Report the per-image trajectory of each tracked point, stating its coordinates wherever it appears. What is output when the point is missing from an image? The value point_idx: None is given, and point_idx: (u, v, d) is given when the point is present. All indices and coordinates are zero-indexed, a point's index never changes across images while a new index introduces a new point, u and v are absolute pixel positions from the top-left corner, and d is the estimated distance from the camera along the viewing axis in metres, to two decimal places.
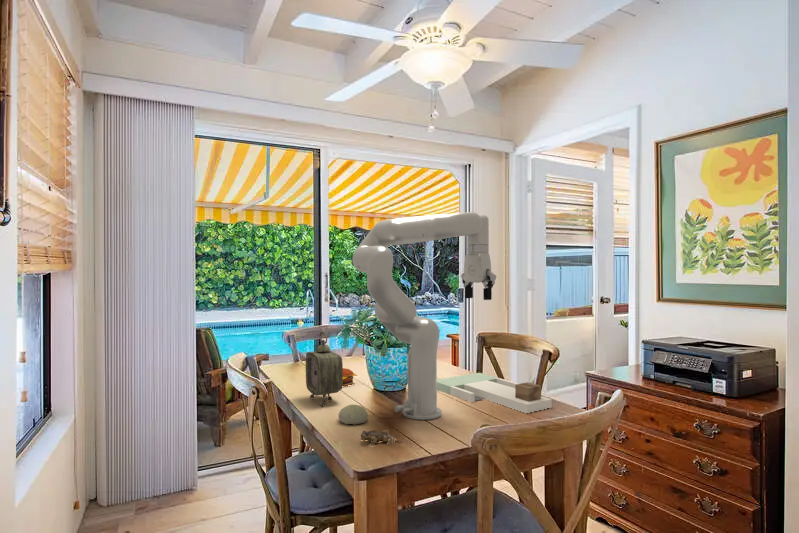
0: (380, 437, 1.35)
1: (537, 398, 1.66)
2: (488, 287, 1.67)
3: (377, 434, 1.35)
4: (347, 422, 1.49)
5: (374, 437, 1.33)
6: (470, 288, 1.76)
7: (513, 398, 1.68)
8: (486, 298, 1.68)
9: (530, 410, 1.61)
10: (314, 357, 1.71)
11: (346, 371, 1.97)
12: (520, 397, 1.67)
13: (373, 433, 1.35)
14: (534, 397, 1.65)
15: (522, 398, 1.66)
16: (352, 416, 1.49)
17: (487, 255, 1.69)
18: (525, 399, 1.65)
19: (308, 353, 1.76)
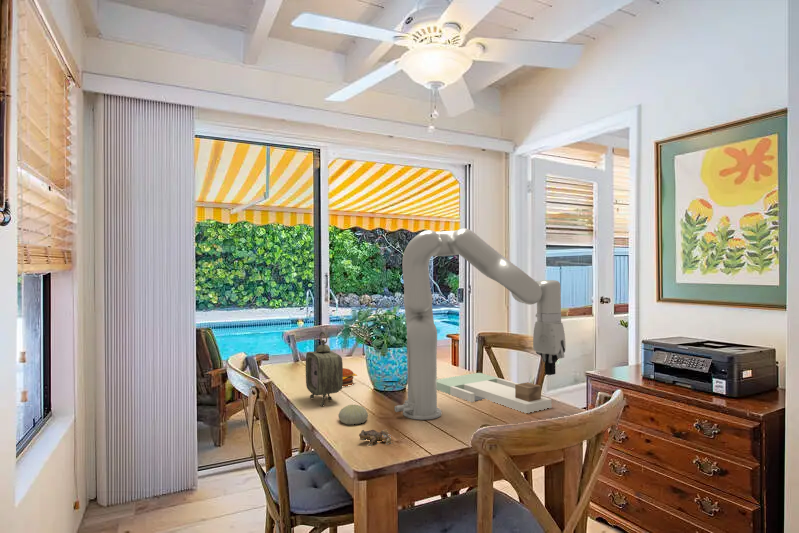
0: (379, 437, 1.35)
1: (537, 398, 1.66)
2: (551, 362, 1.58)
3: (376, 434, 1.35)
4: (347, 422, 1.49)
5: (373, 437, 1.34)
6: None
7: (513, 398, 1.68)
8: (550, 373, 1.59)
9: (530, 410, 1.61)
10: (314, 357, 1.71)
11: (346, 371, 1.97)
12: (520, 397, 1.67)
13: (371, 432, 1.35)
14: (534, 397, 1.65)
15: (522, 398, 1.66)
16: (352, 416, 1.49)
17: (561, 325, 1.56)
18: (525, 399, 1.65)
19: (308, 353, 1.76)
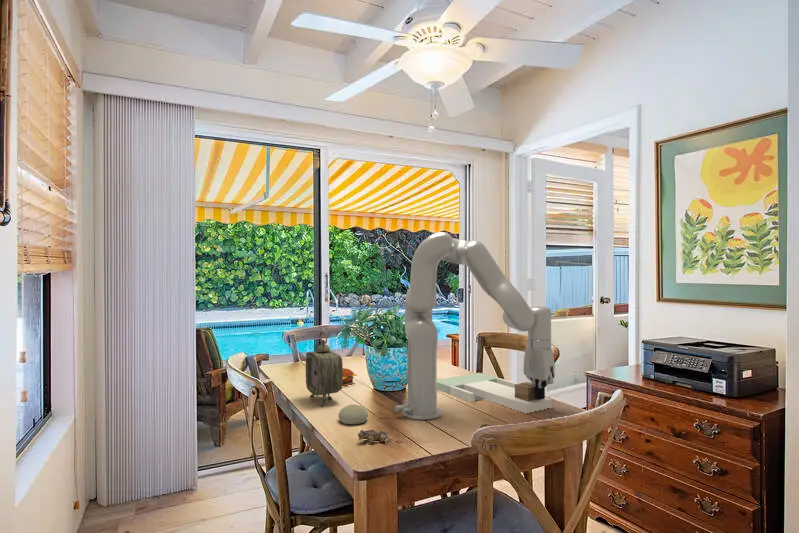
0: (378, 437, 1.35)
1: None
2: (541, 388, 1.62)
3: (374, 434, 1.35)
4: (347, 422, 1.49)
5: (371, 437, 1.34)
6: None
7: (513, 398, 1.68)
8: (539, 398, 1.62)
9: (530, 410, 1.61)
10: (314, 357, 1.71)
11: (346, 371, 1.97)
12: (519, 397, 1.67)
13: (370, 432, 1.35)
14: (533, 397, 1.65)
15: (521, 398, 1.66)
16: (352, 416, 1.49)
17: (550, 351, 1.60)
18: (524, 399, 1.65)
19: (308, 353, 1.76)
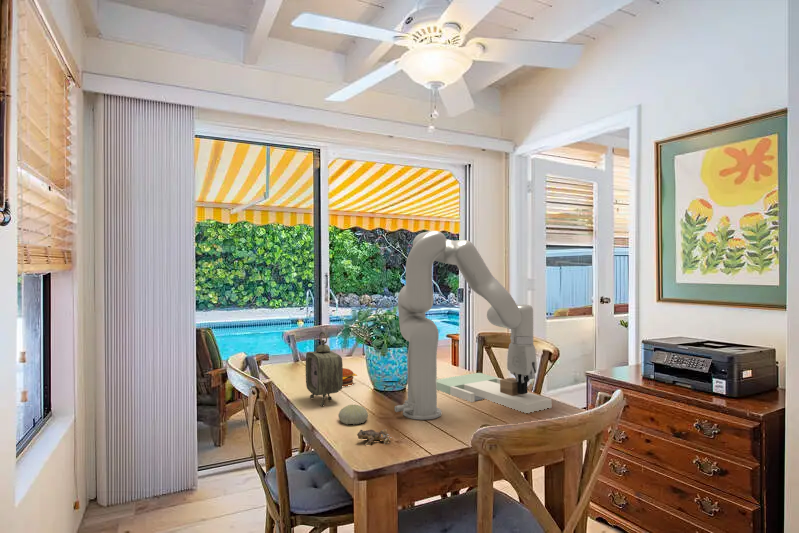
0: (377, 437, 1.36)
1: None
2: None
3: (374, 433, 1.35)
4: (347, 422, 1.49)
5: (371, 436, 1.34)
6: None
7: (513, 398, 1.68)
8: (522, 392, 1.69)
9: (530, 410, 1.61)
10: (314, 357, 1.71)
11: (346, 371, 1.97)
12: (504, 392, 1.74)
13: (369, 432, 1.35)
14: (517, 392, 1.72)
15: (506, 392, 1.73)
16: (352, 416, 1.49)
17: (532, 347, 1.66)
18: (509, 393, 1.72)
19: (308, 353, 1.76)
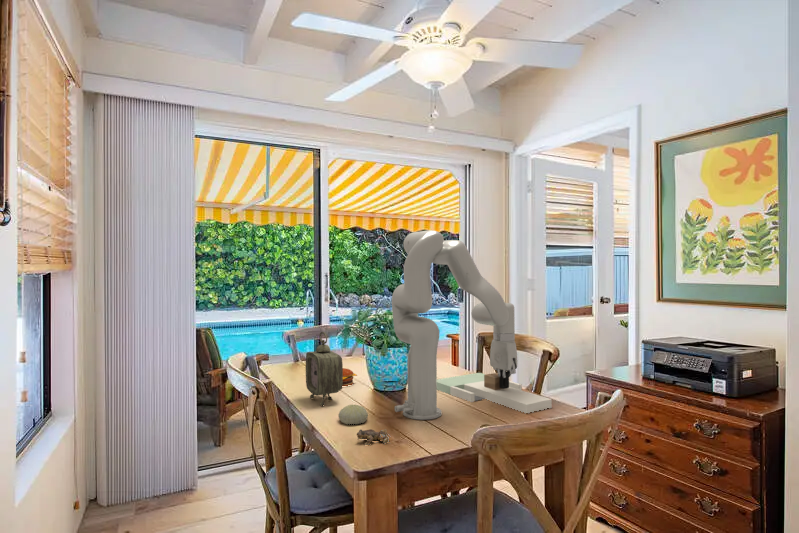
0: (376, 436, 1.36)
1: None
2: (505, 377, 1.76)
3: (373, 433, 1.35)
4: (347, 422, 1.49)
5: (370, 436, 1.34)
6: None
7: (513, 398, 1.68)
8: (504, 387, 1.76)
9: (530, 410, 1.61)
10: (314, 357, 1.71)
11: (346, 371, 1.97)
12: (488, 386, 1.82)
13: (369, 432, 1.35)
14: None
15: (490, 387, 1.81)
16: (352, 416, 1.49)
17: (513, 344, 1.74)
18: (492, 388, 1.79)
19: (308, 353, 1.76)
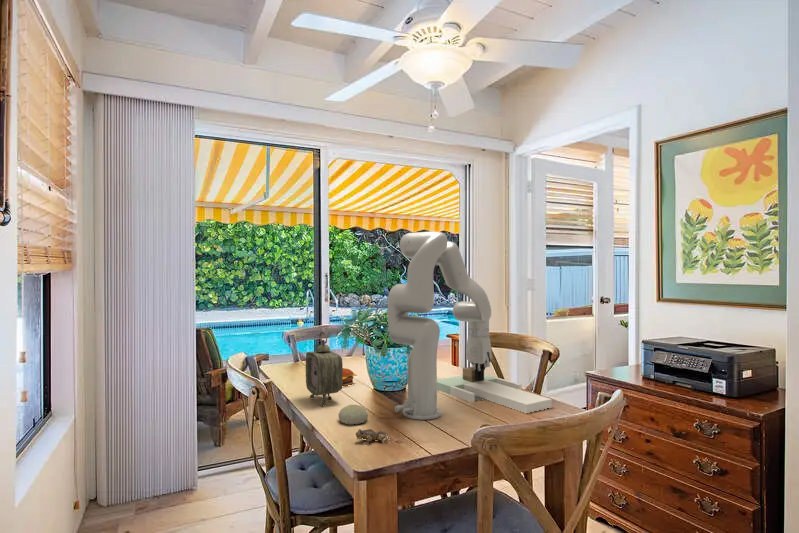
0: (375, 436, 1.36)
1: None
2: (480, 370, 1.87)
3: (372, 433, 1.35)
4: (347, 422, 1.49)
5: (369, 436, 1.34)
6: None
7: (513, 398, 1.68)
8: (479, 379, 1.88)
9: (530, 410, 1.61)
10: (314, 357, 1.71)
11: (346, 371, 1.97)
12: (466, 379, 1.93)
13: (368, 431, 1.35)
14: None
15: (467, 379, 1.92)
16: (352, 416, 1.49)
17: (487, 339, 1.85)
18: (469, 380, 1.91)
19: (308, 353, 1.76)
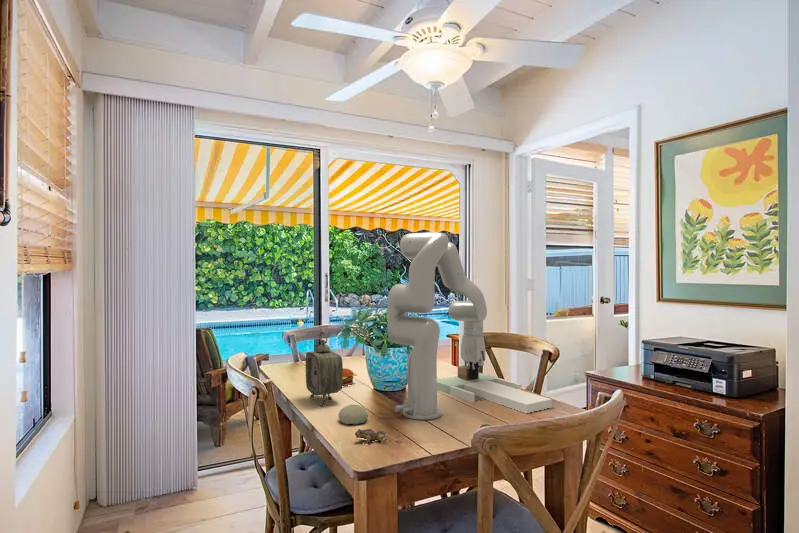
0: (375, 436, 1.36)
1: None
2: (474, 369, 1.90)
3: (372, 433, 1.35)
4: (347, 422, 1.49)
5: (368, 436, 1.34)
6: None
7: (513, 398, 1.68)
8: (473, 378, 1.91)
9: (530, 410, 1.61)
10: (314, 357, 1.71)
11: (346, 371, 1.97)
12: (461, 377, 1.96)
13: (367, 431, 1.36)
14: None
15: (462, 378, 1.95)
16: (352, 416, 1.49)
17: (481, 338, 1.88)
18: (464, 378, 1.94)
19: (308, 353, 1.76)
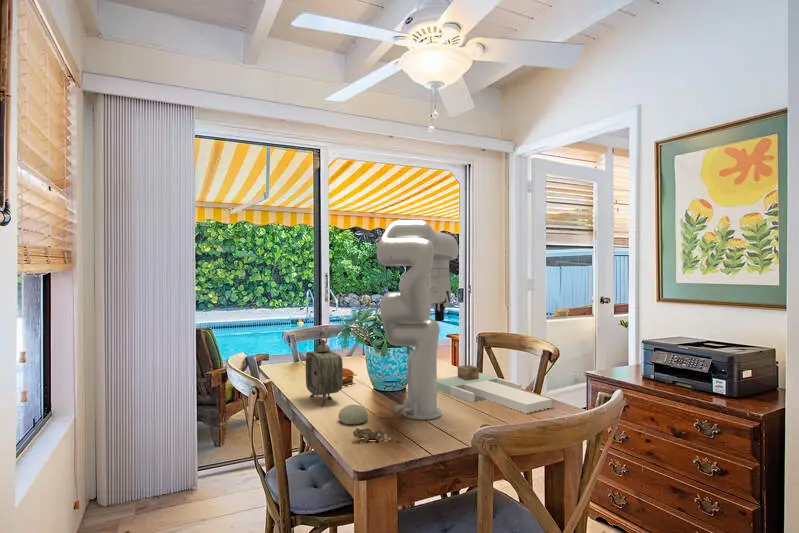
0: (373, 436, 1.36)
1: (475, 378, 1.95)
2: (440, 311, 1.87)
3: (370, 432, 1.36)
4: (347, 422, 1.49)
5: (366, 435, 1.35)
6: None
7: (513, 398, 1.68)
8: (439, 320, 1.87)
9: (530, 410, 1.61)
10: (314, 357, 1.71)
11: (346, 371, 1.97)
12: (460, 377, 1.96)
13: (365, 431, 1.36)
14: (472, 377, 1.94)
15: (462, 378, 1.95)
16: (352, 416, 1.49)
17: (447, 278, 1.85)
18: (464, 378, 1.94)
19: (308, 353, 1.76)
